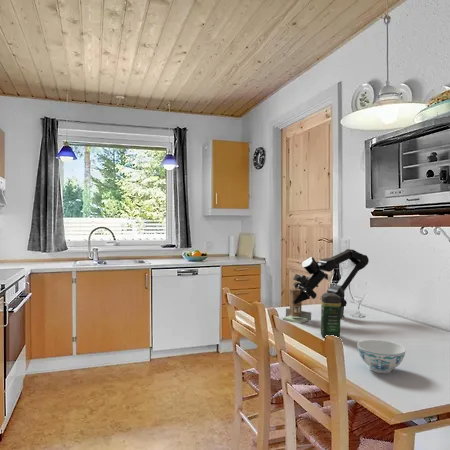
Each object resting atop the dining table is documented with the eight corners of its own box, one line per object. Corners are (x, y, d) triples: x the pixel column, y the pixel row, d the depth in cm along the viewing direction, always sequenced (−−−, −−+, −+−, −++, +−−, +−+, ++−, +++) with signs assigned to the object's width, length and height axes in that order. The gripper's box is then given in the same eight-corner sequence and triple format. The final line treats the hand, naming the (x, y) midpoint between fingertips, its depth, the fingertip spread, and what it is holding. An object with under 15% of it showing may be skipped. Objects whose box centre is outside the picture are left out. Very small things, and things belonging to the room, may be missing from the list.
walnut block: (298, 314, 203) (298, 288, 203) (301, 316, 198) (301, 290, 198) (289, 314, 202) (289, 288, 202) (292, 316, 198) (293, 290, 198)
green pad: (307, 320, 200) (307, 318, 200) (300, 323, 194) (300, 321, 194) (290, 317, 206) (290, 315, 206) (282, 319, 201) (282, 317, 201)
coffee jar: (342, 340, 167) (342, 295, 167) (322, 339, 168) (323, 294, 168) (337, 333, 177) (338, 291, 177) (319, 333, 178) (320, 291, 177)
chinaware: (348, 369, 134) (348, 345, 134) (369, 358, 144) (369, 337, 144) (393, 382, 123) (394, 357, 123) (412, 370, 134) (412, 347, 134)
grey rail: (311, 320, 201) (311, 312, 201) (310, 320, 200) (310, 312, 200) (287, 315, 210) (287, 308, 210) (285, 316, 209) (285, 308, 209)
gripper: (297, 266, 210) (276, 287, 208) (310, 270, 192) (288, 294, 190) (311, 281, 212) (290, 302, 210) (326, 287, 193) (303, 310, 191)
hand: (292, 302), depth 200 cm, fingers closed on walnut block, 4 cm apart
